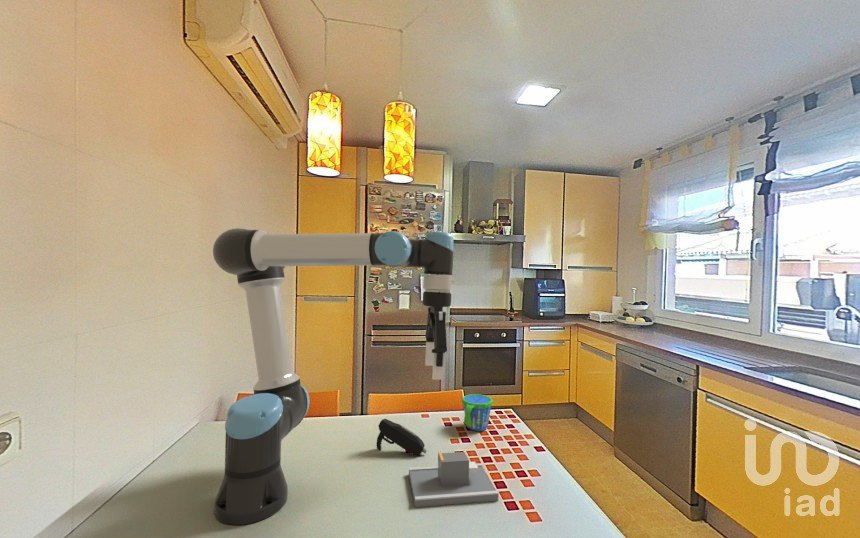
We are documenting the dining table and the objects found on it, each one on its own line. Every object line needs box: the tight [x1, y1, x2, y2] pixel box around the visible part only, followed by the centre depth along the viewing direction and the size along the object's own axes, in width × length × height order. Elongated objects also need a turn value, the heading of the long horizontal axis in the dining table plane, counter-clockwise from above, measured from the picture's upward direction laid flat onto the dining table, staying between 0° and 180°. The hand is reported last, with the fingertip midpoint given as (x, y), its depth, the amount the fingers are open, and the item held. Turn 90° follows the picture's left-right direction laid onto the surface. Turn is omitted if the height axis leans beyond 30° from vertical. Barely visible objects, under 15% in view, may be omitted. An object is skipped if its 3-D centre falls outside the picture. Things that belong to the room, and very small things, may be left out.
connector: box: [437, 451, 478, 487], centre depth 94 cm, size 10×4×6 cm, turn 99°
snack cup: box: [461, 393, 494, 432], centre depth 131 cm, size 16×10×10 cm
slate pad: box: [408, 463, 499, 508], centre depth 93 cm, size 20×14×2 cm
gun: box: [376, 418, 428, 457], centre depth 112 cm, size 3×16×10 cm, turn 79°
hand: (433, 371), depth 97 cm, fingers open, 13 cm apart
